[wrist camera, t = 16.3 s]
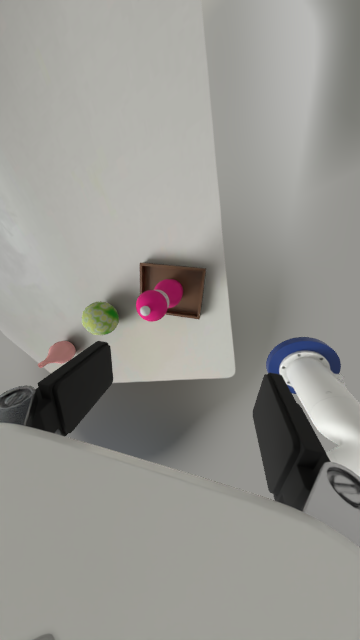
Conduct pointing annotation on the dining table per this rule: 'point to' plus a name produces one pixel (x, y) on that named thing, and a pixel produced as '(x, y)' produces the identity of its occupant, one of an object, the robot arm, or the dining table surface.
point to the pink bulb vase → (59, 353)
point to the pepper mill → (159, 299)
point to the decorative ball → (100, 318)
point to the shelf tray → (186, 276)
